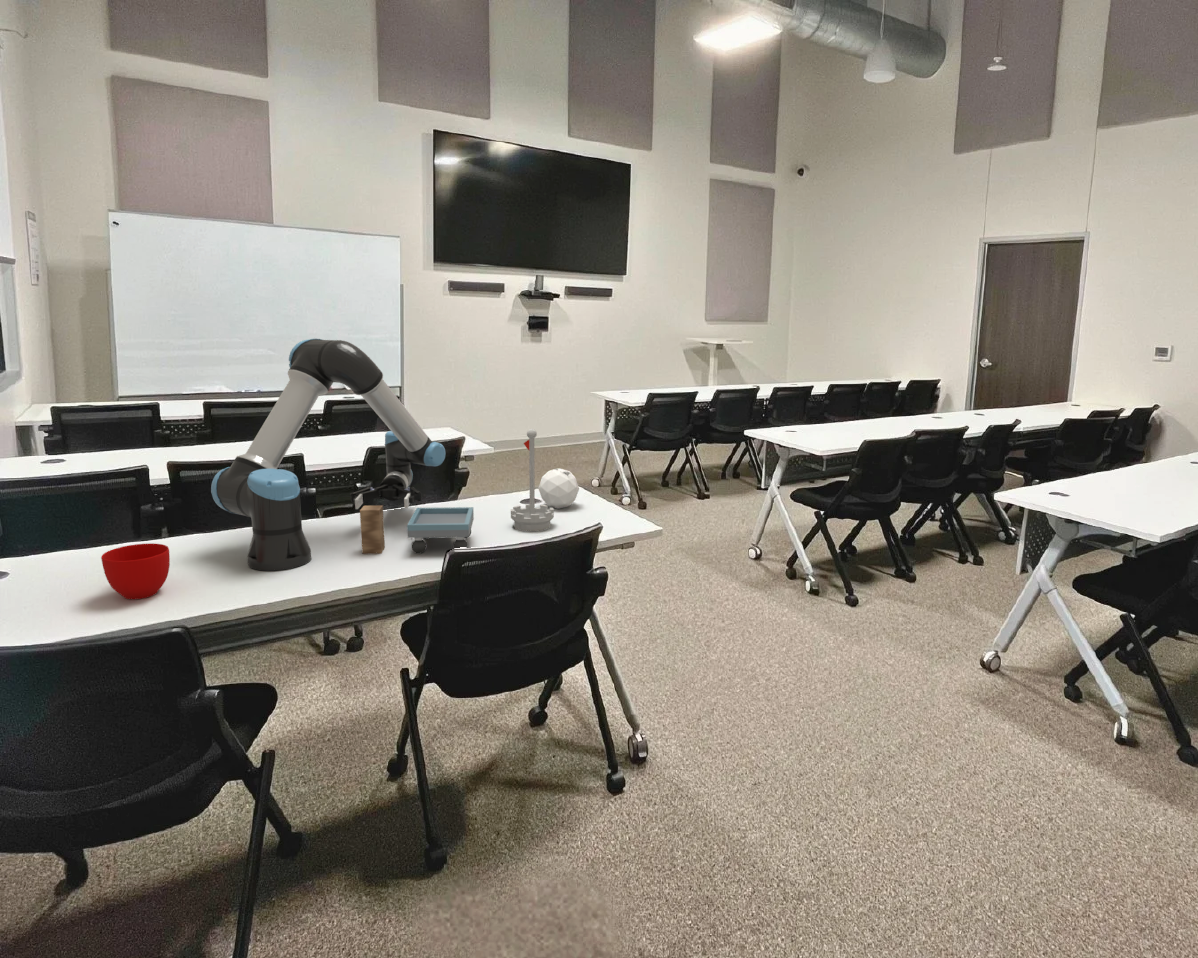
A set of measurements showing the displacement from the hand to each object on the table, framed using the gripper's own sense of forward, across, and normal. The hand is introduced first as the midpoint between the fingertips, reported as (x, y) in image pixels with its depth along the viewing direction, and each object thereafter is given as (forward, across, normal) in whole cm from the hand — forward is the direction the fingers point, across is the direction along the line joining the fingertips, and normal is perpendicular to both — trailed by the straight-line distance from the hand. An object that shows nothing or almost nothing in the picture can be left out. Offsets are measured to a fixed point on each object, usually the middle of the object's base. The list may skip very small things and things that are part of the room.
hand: (381, 504), depth 210 cm
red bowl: (+39, +48, -10) cm, 62 cm away
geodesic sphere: (-34, -52, -11) cm, 63 cm away
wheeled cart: (+7, -18, -10) cm, 21 cm away
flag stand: (-11, -42, -11) cm, 45 cm away
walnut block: (+11, 0, -10) cm, 15 cm away
